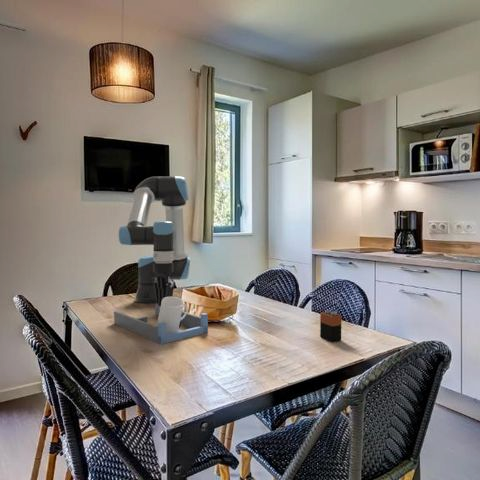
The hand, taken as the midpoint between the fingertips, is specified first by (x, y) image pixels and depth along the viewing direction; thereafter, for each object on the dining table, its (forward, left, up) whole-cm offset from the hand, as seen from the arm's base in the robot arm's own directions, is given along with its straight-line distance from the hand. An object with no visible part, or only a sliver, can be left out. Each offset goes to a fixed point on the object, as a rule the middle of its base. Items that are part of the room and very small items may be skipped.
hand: (163, 322), depth 151 cm
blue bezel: (-1, +13, -3) cm, 13 cm away
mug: (0, +5, -2) cm, 5 cm away
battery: (-37, +50, -3) cm, 63 cm away
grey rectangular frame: (-1, -5, -3) cm, 6 cm away
